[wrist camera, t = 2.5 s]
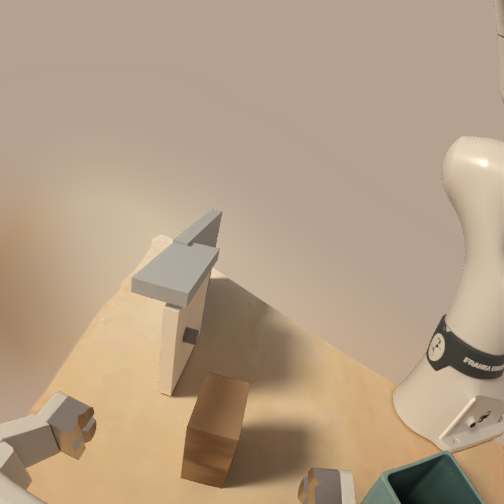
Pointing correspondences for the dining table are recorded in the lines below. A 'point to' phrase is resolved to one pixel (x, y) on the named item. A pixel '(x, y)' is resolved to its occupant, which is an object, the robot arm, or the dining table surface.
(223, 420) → the walnut block
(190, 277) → the wall
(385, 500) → the flower pot
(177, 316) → the door panel
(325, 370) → the dining table surface
